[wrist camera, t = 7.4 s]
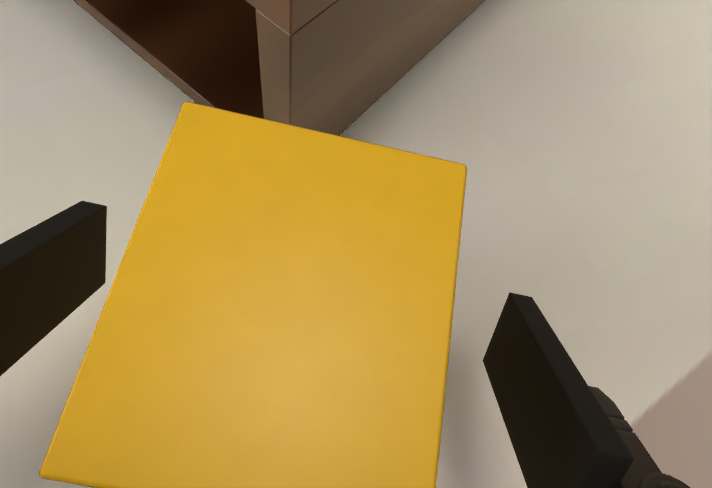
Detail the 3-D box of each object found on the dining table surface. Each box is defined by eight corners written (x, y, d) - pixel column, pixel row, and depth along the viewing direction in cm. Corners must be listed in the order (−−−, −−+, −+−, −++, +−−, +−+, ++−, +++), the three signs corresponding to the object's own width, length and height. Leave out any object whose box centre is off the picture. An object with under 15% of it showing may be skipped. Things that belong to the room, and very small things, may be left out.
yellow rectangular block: (187, 457, 18) (25, 497, 7) (240, 271, 21) (186, 88, 10) (343, 486, 18) (429, 568, 7) (374, 299, 21) (470, 153, 10)
